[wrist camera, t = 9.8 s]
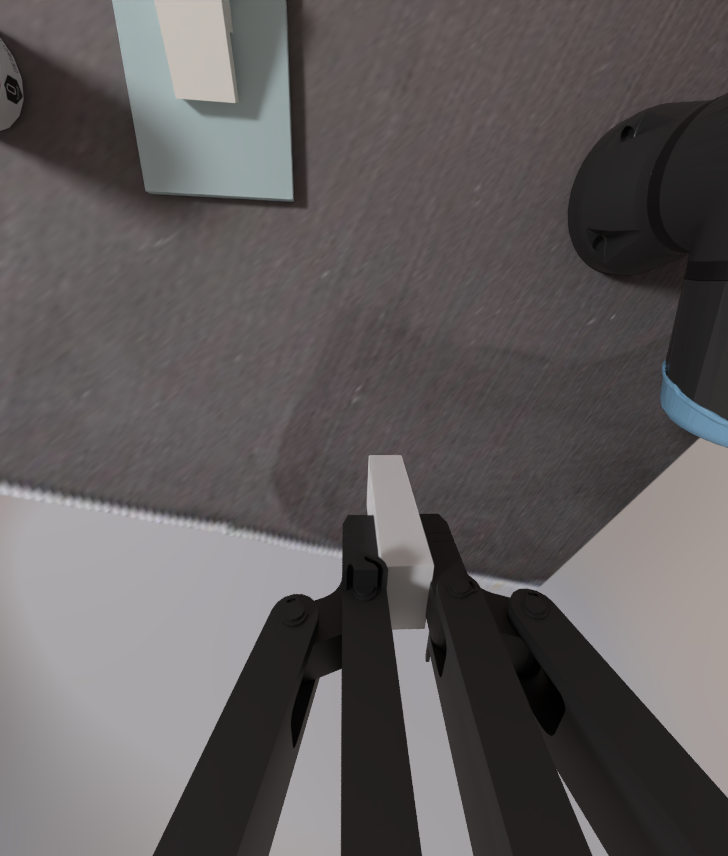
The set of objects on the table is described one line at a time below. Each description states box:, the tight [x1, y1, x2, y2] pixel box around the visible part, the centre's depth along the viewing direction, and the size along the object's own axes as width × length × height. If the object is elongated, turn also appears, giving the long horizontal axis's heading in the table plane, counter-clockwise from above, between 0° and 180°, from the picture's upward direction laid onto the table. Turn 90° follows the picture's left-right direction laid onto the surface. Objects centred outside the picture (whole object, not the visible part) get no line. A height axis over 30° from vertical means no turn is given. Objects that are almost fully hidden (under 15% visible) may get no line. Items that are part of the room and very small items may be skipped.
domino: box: [154, 0, 239, 103], centre depth 28 cm, size 2×5×10 cm
